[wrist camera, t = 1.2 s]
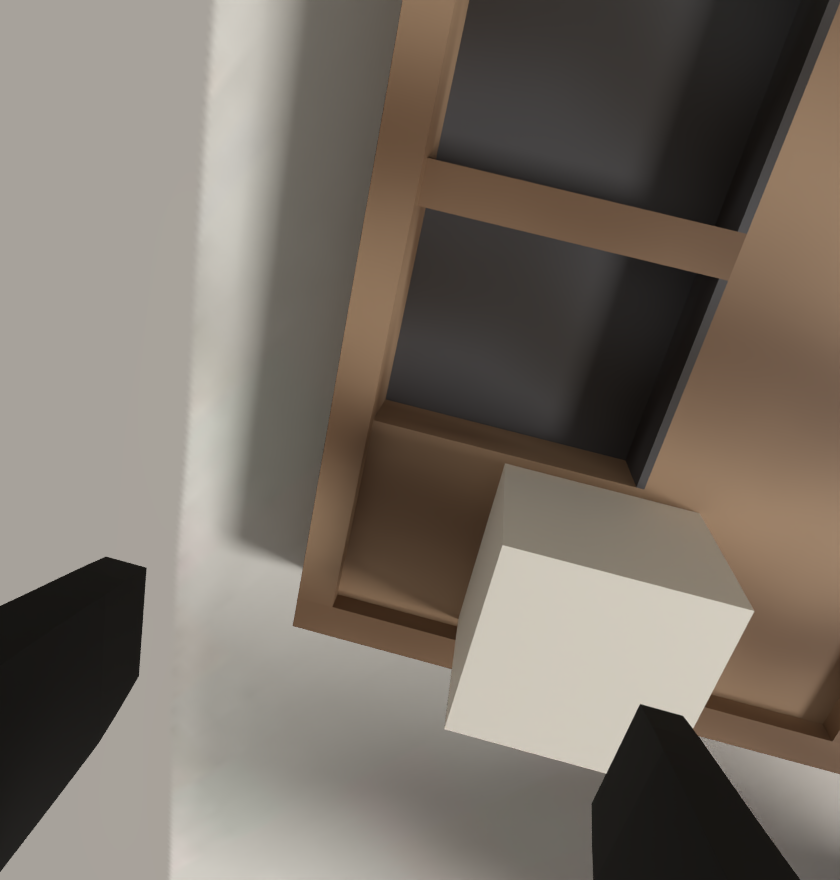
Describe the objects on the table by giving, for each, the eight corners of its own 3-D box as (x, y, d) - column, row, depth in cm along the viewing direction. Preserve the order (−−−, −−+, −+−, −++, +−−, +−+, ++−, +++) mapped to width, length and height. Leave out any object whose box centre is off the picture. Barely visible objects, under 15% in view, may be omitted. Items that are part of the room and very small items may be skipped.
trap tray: (811, 706, 20) (851, 777, 18) (318, 574, 21) (292, 625, 18) (1505, -431, 10) (1799, -613, 8) (540, -613, 11) (548, -828, 9)
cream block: (631, 665, 18) (661, 788, 14) (458, 619, 18) (444, 729, 15) (699, 513, 16) (754, 610, 13) (504, 463, 16) (502, 545, 13)
